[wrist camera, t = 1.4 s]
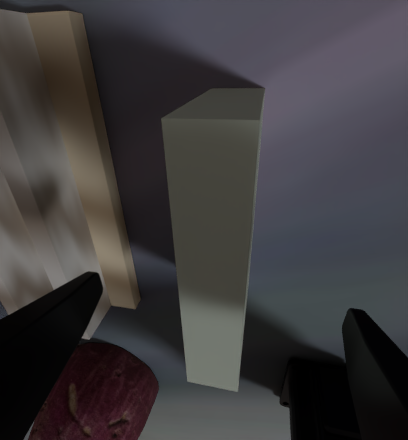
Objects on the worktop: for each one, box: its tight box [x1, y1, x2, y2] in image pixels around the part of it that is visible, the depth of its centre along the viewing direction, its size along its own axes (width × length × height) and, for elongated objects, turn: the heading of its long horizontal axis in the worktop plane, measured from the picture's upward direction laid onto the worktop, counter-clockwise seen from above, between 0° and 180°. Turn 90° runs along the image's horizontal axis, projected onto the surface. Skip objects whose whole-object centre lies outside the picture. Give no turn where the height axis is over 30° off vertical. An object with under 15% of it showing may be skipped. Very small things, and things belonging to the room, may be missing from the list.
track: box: [0, 9, 141, 340], centre depth 16 cm, size 18×10×4 cm, turn 1°
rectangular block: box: [161, 88, 265, 392], centre depth 13 cm, size 12×2×7 cm, turn 1°
